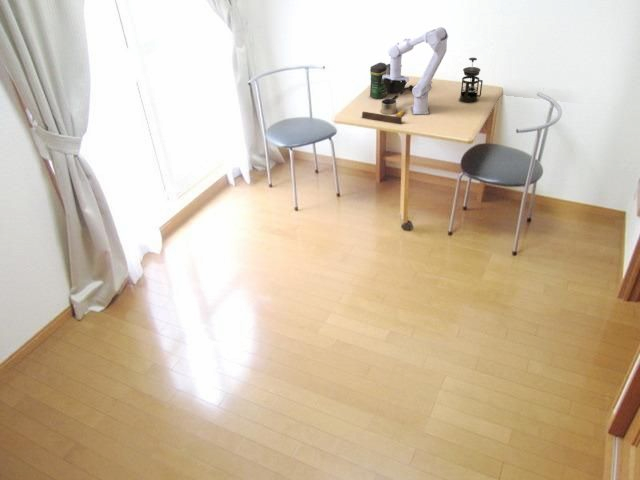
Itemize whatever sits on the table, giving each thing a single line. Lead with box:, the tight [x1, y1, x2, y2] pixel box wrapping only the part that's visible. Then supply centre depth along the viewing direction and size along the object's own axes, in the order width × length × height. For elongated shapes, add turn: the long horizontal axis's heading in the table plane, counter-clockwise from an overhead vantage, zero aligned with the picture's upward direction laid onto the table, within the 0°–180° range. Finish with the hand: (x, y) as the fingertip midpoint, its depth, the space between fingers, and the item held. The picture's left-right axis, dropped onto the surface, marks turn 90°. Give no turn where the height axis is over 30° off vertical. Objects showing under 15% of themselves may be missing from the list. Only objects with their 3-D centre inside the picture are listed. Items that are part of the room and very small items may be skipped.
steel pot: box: [380, 94, 399, 115], centre depth 282 cm, size 15×8×6 cm, turn 150°
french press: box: [459, 57, 484, 104], centre depth 279 cm, size 12×9×23 cm
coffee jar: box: [369, 62, 387, 99], centre depth 294 cm, size 10×8×19 cm
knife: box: [395, 109, 405, 118], centre depth 274 cm, size 12×2×1 cm, turn 150°
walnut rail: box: [361, 111, 403, 125], centre depth 272 cm, size 22×2×3 cm, turn 61°
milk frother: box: [386, 63, 415, 94], centre depth 299 cm, size 14×16×15 cm
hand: (395, 93), depth 282 cm, fingers open, 7 cm apart
